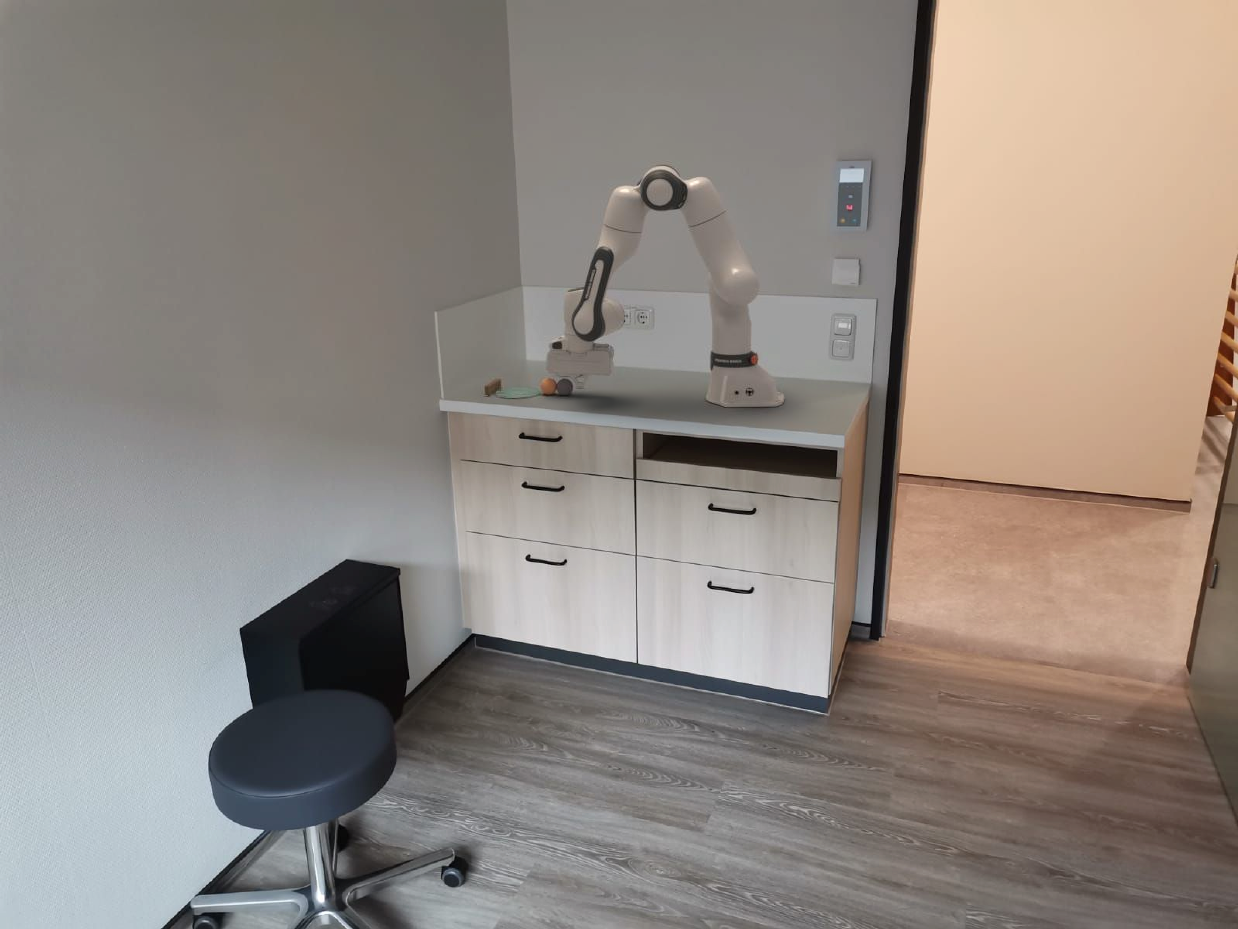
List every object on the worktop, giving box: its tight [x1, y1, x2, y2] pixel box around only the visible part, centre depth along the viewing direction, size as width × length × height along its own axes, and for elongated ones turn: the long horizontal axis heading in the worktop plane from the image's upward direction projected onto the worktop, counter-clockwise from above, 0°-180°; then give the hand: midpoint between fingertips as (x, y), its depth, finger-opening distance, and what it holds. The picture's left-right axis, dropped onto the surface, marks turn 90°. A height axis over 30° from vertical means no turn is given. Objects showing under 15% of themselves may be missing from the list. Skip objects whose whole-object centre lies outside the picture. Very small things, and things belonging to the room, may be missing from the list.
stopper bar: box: [484, 378, 502, 397], centre depth 280 cm, size 2×10×3 cm, turn 167°
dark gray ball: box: [556, 378, 574, 396], centre depth 275 cm, size 5×5×5 cm
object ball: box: [540, 377, 558, 396], centre depth 276 cm, size 5×5×5 cm
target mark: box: [494, 386, 542, 399], centre depth 279 cm, size 14×14×1 cm
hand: (580, 388), depth 274 cm, fingers closed
